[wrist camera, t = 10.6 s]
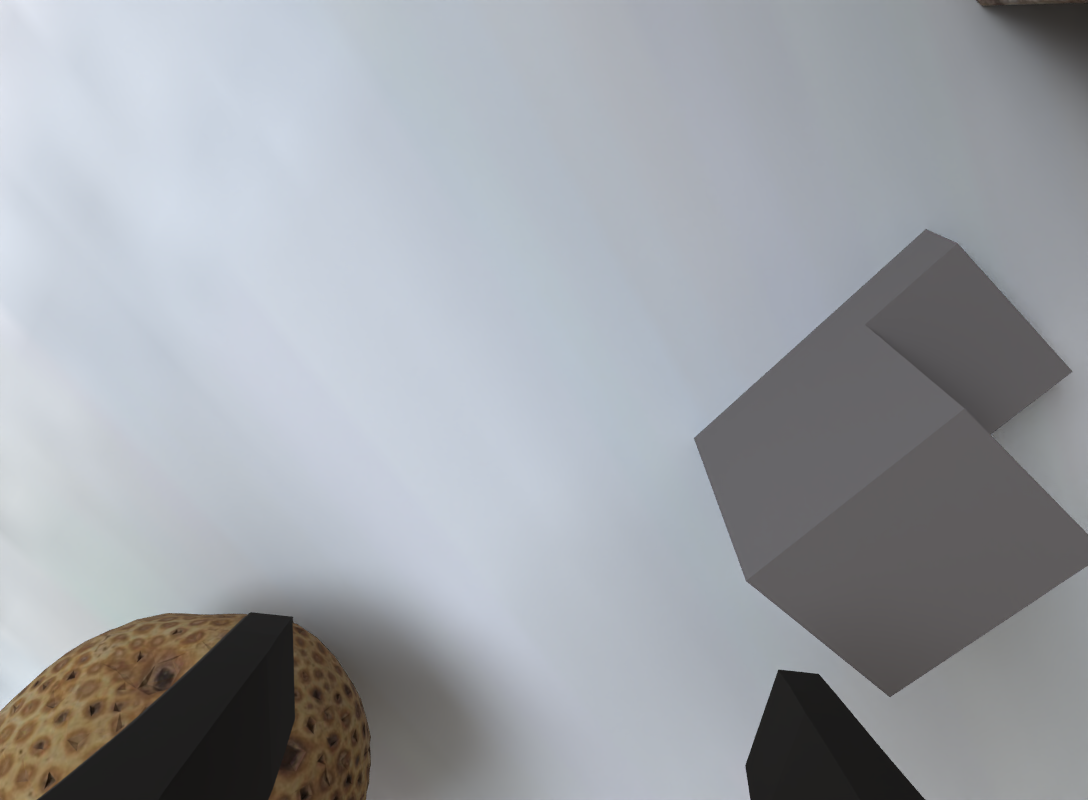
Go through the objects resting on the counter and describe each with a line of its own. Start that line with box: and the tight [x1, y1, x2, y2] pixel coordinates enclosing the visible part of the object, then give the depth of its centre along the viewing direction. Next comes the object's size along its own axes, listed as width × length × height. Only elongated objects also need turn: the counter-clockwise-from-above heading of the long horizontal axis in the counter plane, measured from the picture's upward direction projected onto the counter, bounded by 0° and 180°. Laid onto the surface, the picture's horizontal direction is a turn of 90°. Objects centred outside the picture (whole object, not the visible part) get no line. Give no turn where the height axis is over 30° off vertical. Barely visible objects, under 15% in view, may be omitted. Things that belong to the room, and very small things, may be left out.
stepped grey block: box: [694, 230, 1088, 697], centre depth 16 cm, size 4×8×6 cm, turn 138°
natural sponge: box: [0, 613, 371, 800], centre depth 18 cm, size 9×9×10 cm
